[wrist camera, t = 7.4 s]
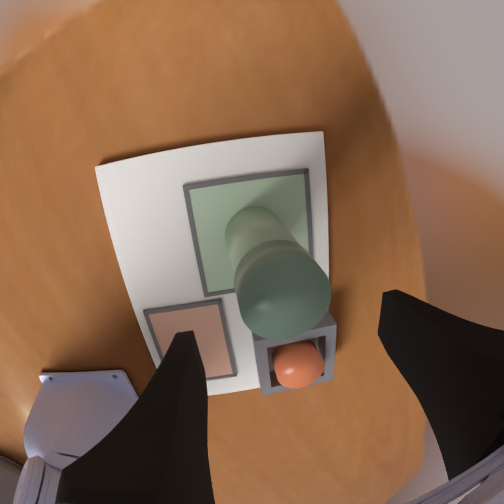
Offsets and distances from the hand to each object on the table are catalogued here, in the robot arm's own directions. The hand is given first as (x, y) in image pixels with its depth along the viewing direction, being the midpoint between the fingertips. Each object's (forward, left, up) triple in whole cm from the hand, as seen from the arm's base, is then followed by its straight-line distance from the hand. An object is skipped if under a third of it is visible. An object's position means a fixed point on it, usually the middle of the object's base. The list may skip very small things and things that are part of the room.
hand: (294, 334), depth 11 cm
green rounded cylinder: (0, 0, -10) cm, 10 cm away
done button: (+2, -10, -9) cm, 13 cm away
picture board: (-2, -4, -10) cm, 11 cm away
